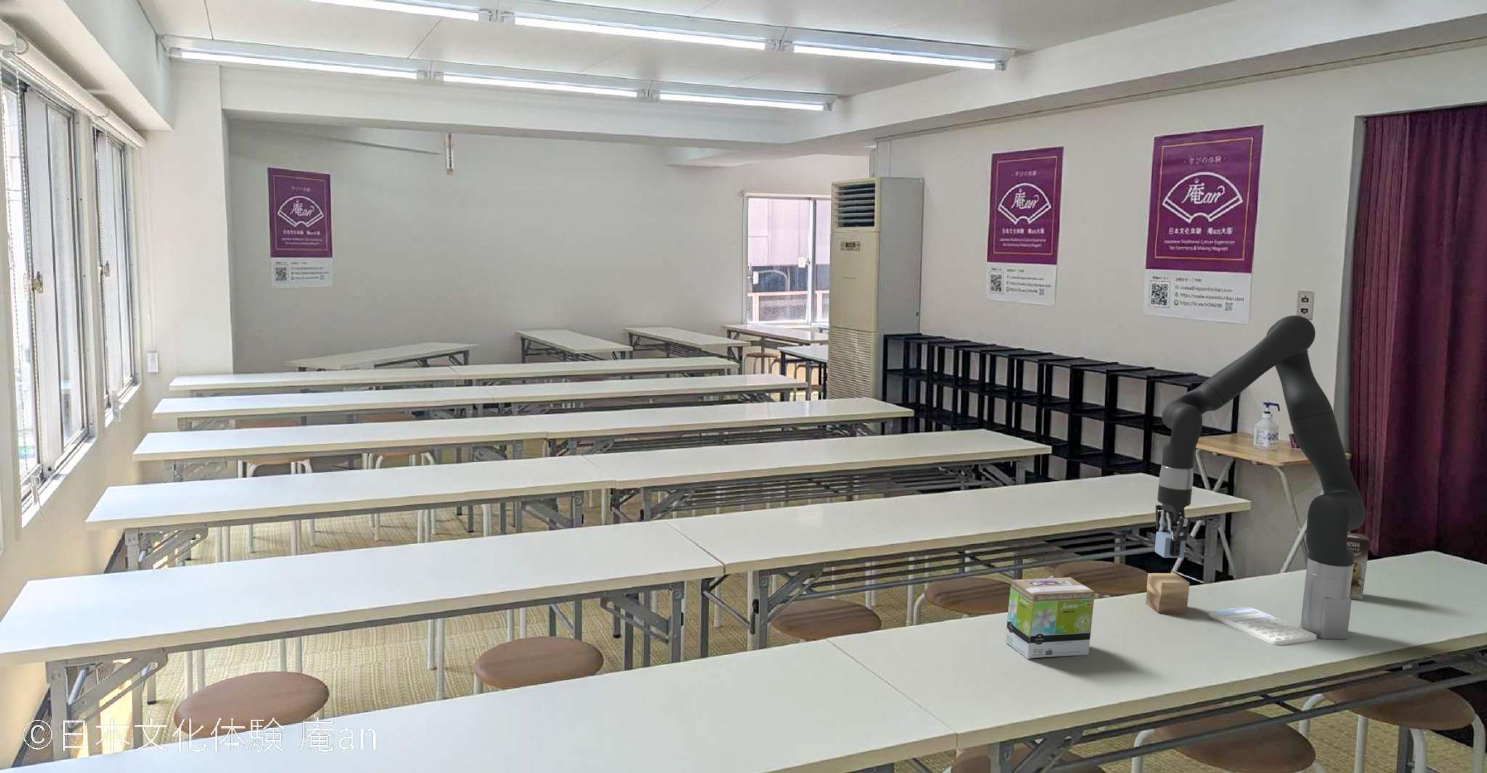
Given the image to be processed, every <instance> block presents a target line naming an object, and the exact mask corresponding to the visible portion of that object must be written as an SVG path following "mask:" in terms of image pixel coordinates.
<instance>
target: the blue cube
mask: <svg viewBox="0 0 1487 773" xmlns="http://www.w3.org/2000/svg"><path fill="white" fill-rule="evenodd" d="M1175 533H1176V531H1175ZM1154 544H1155V546H1154V552H1155V553H1156V554H1157V555H1159V556H1161V557H1162V558H1164V559H1165V558H1170V559H1171V558H1172V559H1174V558H1176V559H1184V558H1185V552H1186V551H1185V549H1186V541H1181V546H1180V555H1179V556H1171V555H1170V544H1171V532H1159V531H1156V533H1155V542H1154Z"/></svg>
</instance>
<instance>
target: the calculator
mask: <svg viewBox="0 0 1487 773" xmlns="http://www.w3.org/2000/svg"><path fill="white" fill-rule="evenodd" d="M1208 616H1209V617H1210V618H1211V619H1214V620H1216V621H1218V622H1221V623H1223V624H1226V625H1227V626H1230V627H1232V628H1234V629H1236V630H1239V631H1241V632H1243V633H1246V634H1248V635H1249V636H1252V637H1255V638H1256V639H1259V640H1261V641H1264V642H1266V643H1268V644H1270V645H1272V646H1283V645H1293V644H1297V643H1304V642H1312V641H1316V640H1317V637H1318V636H1316V634H1314V633H1312V632H1309V631H1307V630H1304V629H1302V628H1300V626H1297V625H1294V624H1292V623H1289V622H1288V621H1285V620H1283V619H1281V618H1278V617H1276V616H1273V615H1270V614H1268V613H1266V612H1264V611H1261V610H1258V609H1256V608H1254V607H1250V606H1240V607H1232V608H1231V607H1230V608H1224V609H1216V610H1211V611H1209V613H1208Z"/></svg>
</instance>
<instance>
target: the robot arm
mask: <svg viewBox="0 0 1487 773" xmlns="http://www.w3.org/2000/svg"><path fill="white" fill-rule="evenodd" d="M1315 339H1316V329H1315V326H1314V324H1313V323H1312V321H1310V320H1309V319H1308V318H1306V317H1305V316H1302V315H1297V314H1296V315H1288V316H1285V317H1282V318H1281V319H1280V318H1279V320H1277V321H1276V322H1275V323H1274V324H1272V325H1271V327H1270V328H1268V331H1267V333H1266V335H1265V337H1263V339H1262V340H1260V341H1259V342H1258V343H1257V344H1256V345H1255V346H1254V347H1252V348H1250V349H1249V350H1248V351H1247V352H1245V353H1244V354H1242V355H1241V356H1240V357H1238V358H1237V359H1236V360H1233V361H1231V363H1229V364H1228V365H1226V366H1225V367H1223V368H1222V369H1220V370H1219V371H1217V372H1216V373H1215V374H1213V375H1212V376H1210V377H1209V378H1208V379H1206V380H1205V381H1204V382H1203V383H1200V385H1199V386H1197V387H1196V388H1194V389H1192V390H1190V391H1187V392H1185V393H1184V394H1182V395H1180V396H1178V397H1176V398H1175V399H1173V400H1171V401H1170V402H1169V403H1168V404H1167V405H1166V406H1165V407H1164V408H1163V411H1162V415H1161V419H1162V423H1163V424H1164V426H1166V427H1167V428H1168V429H1169V430H1170V429H1171V436H1170V439H1169V441H1167V442H1165V444H1164V445H1163V451H1162V459H1161V467H1160V472H1159V479H1158V489H1157V490H1158V491H1157V501H1158V503H1160V504H1156V505H1155V528H1156V530H1158V532H1171V544H1170V555H1171V556H1179V555H1180V546H1181V541H1185V542H1186V541H1187V539H1188V535H1189V531H1190V527H1191V522H1192V519H1191V518H1190V517H1189V518H1187V517H1186V513H1185V508H1186V507H1189V506H1190V505H1191V504H1192V495H1193V494H1192V493H1193V484H1194V462H1195V461H1194V460H1195V450H1196V448H1197V445H1198V443H1199V439H1200V437H1201V433H1202V430H1203V429H1202V428H1203V417H1202V415H1203V414H1205V413H1207V412H1215V411H1217V410H1220V409H1221V408H1222V407H1224V406H1225V405H1227V404H1228V403H1229V402H1230V401H1232V400H1233V399H1234V398H1236V397H1237V396H1239V395H1240V394H1241V393H1242V392H1243V391H1244V390H1246V389H1247V388H1248V387H1250V386H1251V385H1252V384H1253V383H1254V382H1256V380H1258V379H1259V378H1260V377H1261V376H1263V375H1264V374H1265V373H1266V372H1268V371H1269V370H1271V369H1272V368H1274V367H1275V370H1276V372H1277V375H1278V377H1279V381H1280V384H1281V388H1282V392H1283V393H1282V394H1283V397H1284V401H1285V406H1286V409H1287V413H1288V418H1289V422H1290V425H1291V429H1292V433H1293V436H1294V438H1295V439H1294V440H1295V442H1296V444H1297V446H1298V447H1299V449H1300V450H1301V452H1302V453H1303V454H1304V456H1305V458H1306V459H1308V461H1309V462H1310V464H1312V466H1313V467H1314V469H1315V472H1316V473H1317V475H1318V478H1319V482H1320V483H1321V488H1322V491H1323V492H1322V493H1323V494H1320V495H1318V496H1316V497H1314V498H1313V499H1312V500H1311V502H1310V504H1309V506H1308V511H1307V517H1306V518H1307V519H1306V533H1305V534H1306V535H1305V543H1306V547H1307V551H1308V555H1307V561H1306V572H1305V580H1304V587H1303V588H1304V590H1303V598H1302V608H1301V615H1300V616H1301V618H1300V626H1299V627H1300V628H1302V629H1304V630H1307V631H1309V632H1312V633H1314V634H1316V636H1317V637H1318V638H1320V639H1323V640H1324V639H1327V640H1329V639H1331V640H1333V639H1334V640H1335V639H1337V640H1339V639H1341V640H1344V639H1345V640H1346V639H1348V633H1349V627H1350V626H1349V624H1350V618H1351V616H1350V615H1351V610H1352V609H1351V607H1352V599H1350V598H1349V597H1350V589H1351V580H1352V572H1353V564H1354V553H1353V551H1352V550H1350V549H1348V547H1347V536H1348V533H1349V532H1351V531H1354V530H1358V529H1359V528H1360V527H1361V526H1362V525H1363V524H1364V522H1365V519H1366V507H1365V503H1364V501H1363V497H1362V495H1361V493H1360V491H1359V488H1358V485H1357V483H1356V482H1355V479H1354V476H1353V474H1352V471H1351V468H1350V465H1349V463H1348V459H1347V456H1346V452H1345V448H1344V445H1343V442H1342V439H1341V436H1340V432H1339V431H1340V430H1339V427H1338V423H1337V420H1336V416H1335V414H1334V410H1333V407H1332V405H1331V403H1330V401H1329V399H1328V397H1327V395H1326V394H1325V392H1324V390H1323V389H1322V388H1321V386H1320V384H1319V383H1318V381H1317V379H1316V378H1315V377H1316V376H1315V375H1314V373H1313V369H1312V367H1311V362H1310V357H1309V356H1310V355H1309V351H1308V350H1309V348H1311V346H1312V345H1313V343H1314V341H1315ZM1175 532H1176V533H1175Z"/></svg>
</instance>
